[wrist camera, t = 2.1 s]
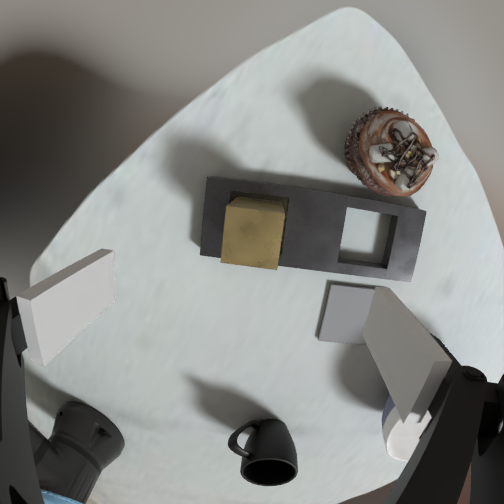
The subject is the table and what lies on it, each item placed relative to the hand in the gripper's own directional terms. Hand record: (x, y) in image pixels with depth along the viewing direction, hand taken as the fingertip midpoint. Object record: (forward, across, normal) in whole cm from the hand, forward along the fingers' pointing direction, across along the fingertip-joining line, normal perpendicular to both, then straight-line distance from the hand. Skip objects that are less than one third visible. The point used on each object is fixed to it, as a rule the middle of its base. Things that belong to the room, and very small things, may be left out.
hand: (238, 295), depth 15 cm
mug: (+23, +5, -32) cm, 40 cm away
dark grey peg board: (+22, +7, 0) cm, 24 cm away
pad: (+22, +14, -10) cm, 28 cm away
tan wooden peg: (+23, 0, 0) cm, 23 cm away
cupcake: (+23, +13, +10) cm, 28 cm away
